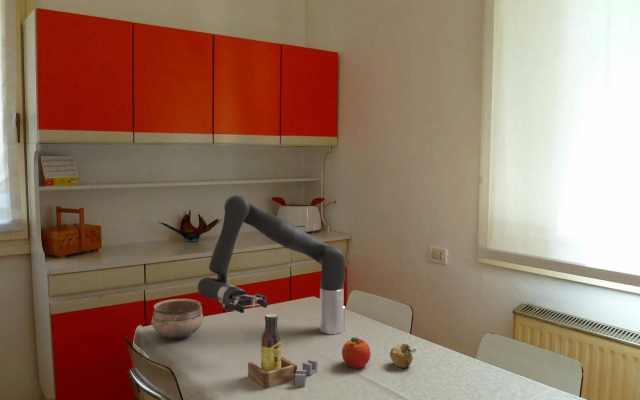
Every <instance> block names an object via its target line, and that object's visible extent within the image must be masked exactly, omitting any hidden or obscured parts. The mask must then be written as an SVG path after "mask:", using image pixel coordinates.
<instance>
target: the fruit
mask: <svg viewBox="0 0 640 400" xmlns="http://www.w3.org/2000/svg"><path fill="white" fill-rule="evenodd" d="M371 354H372V353H371V349H370V346H369V344H368V343H367V342H366V341H365V340H363V339H362V338H361V339H360V338H359V337H358V336H357V337H351V338H350V340H347V341H346V342H345V343H344V345H343V347H342V349H341V355H342V356H341V357H342V359H343V362H344V364H346V365H347V366H349V367H350V368H354V369H355V368H357V369H358V368H359V369H360V368H363V367H365V366H366V365H367V364H368V363H369V361H370V359H371V356H372V355H371Z"/></svg>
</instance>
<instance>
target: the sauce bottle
mask: <svg viewBox="0 0 640 400" xmlns="http://www.w3.org/2000/svg"><path fill="white" fill-rule="evenodd" d="M278 320H279V317H278V314H276V313H267V314H265V315H264V321H265V323H264V324H265V326H264V331H263V333H262V335H261V345H260V347H261V348H260V368H261V369H263V370H264V371H266V372H269V371H272V370H276V369H280V368H281V356H282V338H281V336H280V335H281V334H280V332H279V330H278V329H279V328H278Z"/></svg>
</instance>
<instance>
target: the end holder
mask: <svg viewBox="0 0 640 400" xmlns="http://www.w3.org/2000/svg"><path fill="white" fill-rule="evenodd" d="M296 370H298V365H297V364H296V363H294V362H292V361H290V360H288V359H287V358H285V357H283V356H282V355H281V368H280V369H276V370H272V371H269V372H266V371H264V370H263V369H261V366H258V365H257V364H255V363H254V362H252V361H250V362H247V376H248V378H250V379H251V380H252V381H254V382H255V383H256V384H257V385H259V386H261V387H262V388H263V389H265V390H266V389H270V388H273V387H276V386H281V385H283V384H286V383H290V382H293V381H294V382H295V374H296Z"/></svg>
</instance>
